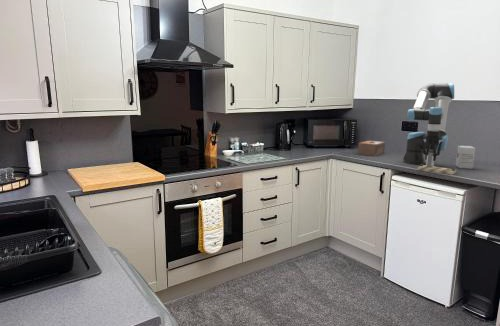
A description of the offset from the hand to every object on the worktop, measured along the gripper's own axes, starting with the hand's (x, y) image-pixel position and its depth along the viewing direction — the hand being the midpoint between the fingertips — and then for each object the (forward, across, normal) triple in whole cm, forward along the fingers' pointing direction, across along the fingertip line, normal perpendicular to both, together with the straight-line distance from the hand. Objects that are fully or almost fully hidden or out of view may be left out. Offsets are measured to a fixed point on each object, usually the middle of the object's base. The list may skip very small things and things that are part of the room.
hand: (429, 165), depth 237 cm
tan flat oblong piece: (+4, +5, 0) cm, 6 cm away
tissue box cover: (+4, -60, +40) cm, 72 cm away
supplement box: (+4, +14, +30) cm, 33 cm away
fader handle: (+1, 0, 0) cm, 1 cm away
